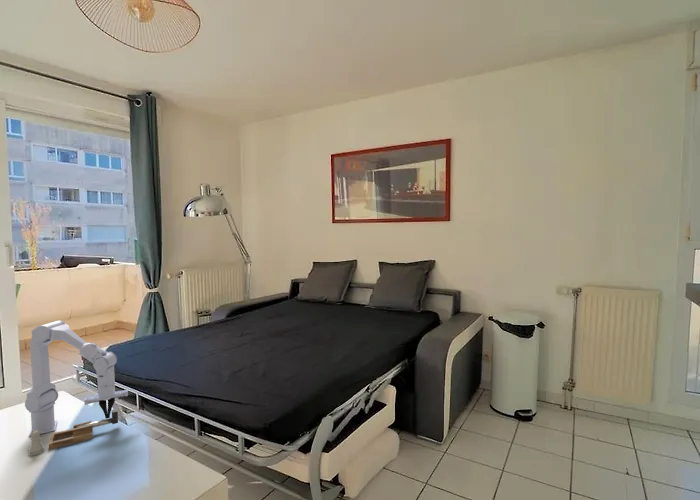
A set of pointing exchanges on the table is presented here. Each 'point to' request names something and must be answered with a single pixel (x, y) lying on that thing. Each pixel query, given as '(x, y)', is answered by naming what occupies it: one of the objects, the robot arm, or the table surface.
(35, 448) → the rook chess piece
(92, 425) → the grey metal hammer
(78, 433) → the wooden frame
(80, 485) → the table surface
